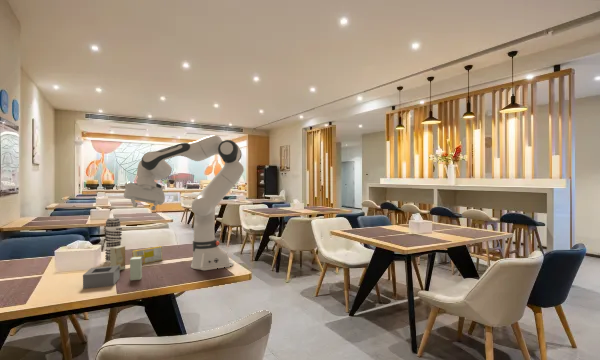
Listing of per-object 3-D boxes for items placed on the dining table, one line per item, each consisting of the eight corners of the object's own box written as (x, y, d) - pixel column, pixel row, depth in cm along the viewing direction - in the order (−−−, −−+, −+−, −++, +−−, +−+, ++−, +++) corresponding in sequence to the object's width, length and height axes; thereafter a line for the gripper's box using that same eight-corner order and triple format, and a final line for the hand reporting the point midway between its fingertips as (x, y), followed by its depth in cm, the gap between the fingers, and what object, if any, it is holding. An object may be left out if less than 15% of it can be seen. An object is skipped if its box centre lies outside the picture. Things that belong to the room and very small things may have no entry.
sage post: (142, 276, 160) (141, 256, 160) (140, 279, 156) (140, 258, 155) (132, 277, 158) (131, 257, 158) (130, 280, 154) (130, 259, 154)
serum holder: (119, 277, 158) (119, 265, 158) (113, 285, 147) (113, 272, 147) (91, 280, 155) (91, 267, 155) (83, 288, 143) (82, 275, 143)
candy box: (161, 259, 193) (160, 245, 193) (162, 260, 192) (162, 246, 192) (132, 265, 182) (131, 250, 182) (133, 265, 180) (133, 251, 180)
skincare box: (117, 271, 169) (116, 248, 169) (109, 271, 170) (109, 248, 170) (126, 268, 175) (125, 245, 175) (119, 267, 176) (118, 245, 176)
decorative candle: (120, 257, 199) (119, 217, 198) (124, 260, 192) (123, 218, 192) (103, 260, 193) (102, 218, 192) (106, 263, 186) (106, 219, 185)
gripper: (127, 178, 167) (125, 201, 160) (166, 187, 181) (166, 208, 174) (122, 184, 170) (120, 207, 164) (160, 192, 184) (160, 214, 178)
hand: (144, 208), depth 169 cm, fingers open, 8 cm apart
